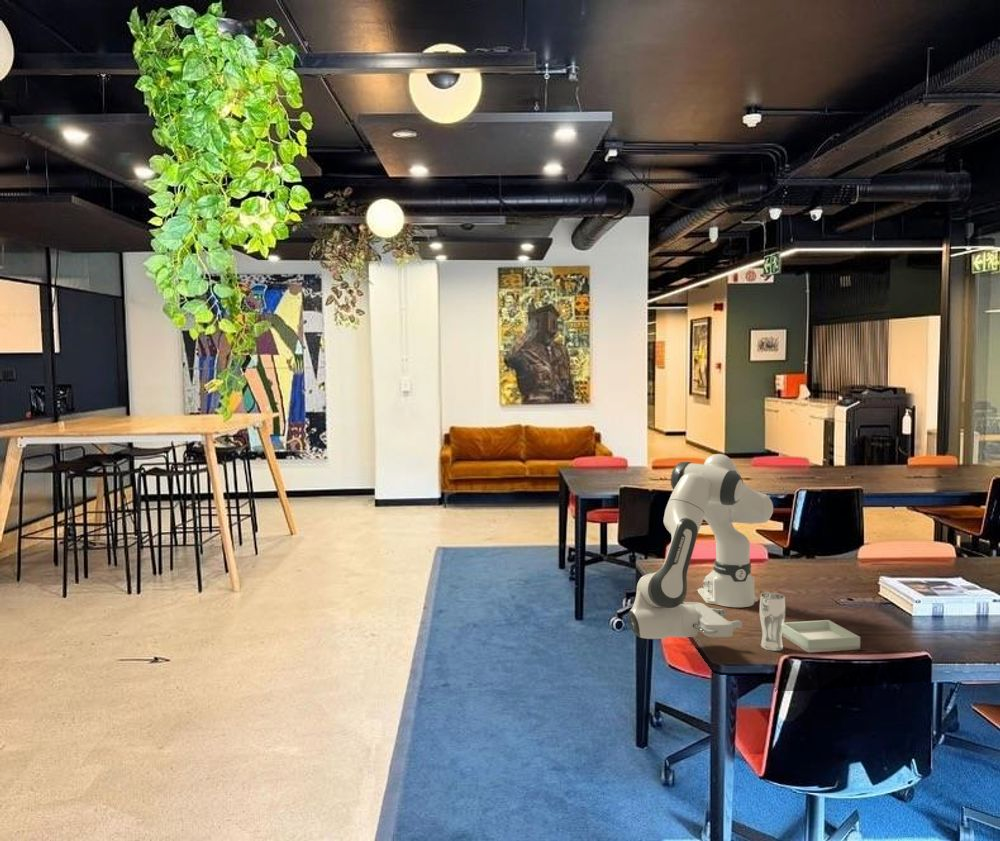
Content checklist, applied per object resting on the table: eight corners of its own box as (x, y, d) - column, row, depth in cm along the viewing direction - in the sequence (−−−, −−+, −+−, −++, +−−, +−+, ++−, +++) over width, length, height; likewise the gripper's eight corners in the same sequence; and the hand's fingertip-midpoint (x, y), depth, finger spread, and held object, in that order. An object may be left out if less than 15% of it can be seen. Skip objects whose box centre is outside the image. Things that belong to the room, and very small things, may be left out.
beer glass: (778, 642, 211) (779, 592, 210) (788, 651, 204) (789, 599, 203) (755, 643, 210) (755, 592, 210) (764, 651, 203) (765, 599, 203)
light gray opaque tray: (779, 634, 218) (780, 622, 217) (828, 631, 220) (828, 619, 220) (808, 652, 203) (808, 640, 203) (860, 649, 205) (860, 637, 205)
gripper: (702, 621, 192) (751, 618, 194) (672, 599, 212) (716, 596, 214) (702, 644, 192) (750, 641, 194) (672, 620, 213) (716, 617, 215)
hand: (732, 618), depth 205 cm, fingers open, 8 cm apart
